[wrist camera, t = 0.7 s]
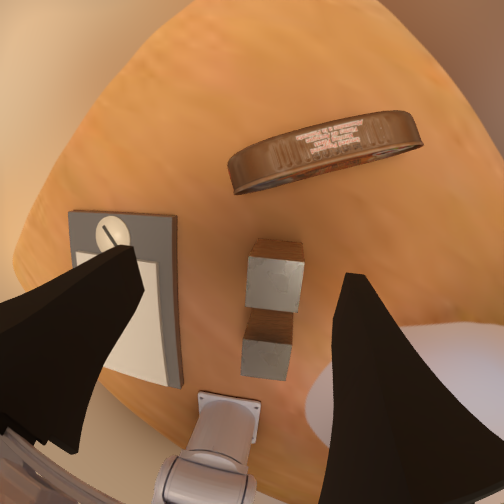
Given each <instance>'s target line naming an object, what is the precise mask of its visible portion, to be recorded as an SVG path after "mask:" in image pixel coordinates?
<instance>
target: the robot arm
mask: <svg viewBox="0 0 504 504" xmlns="http://www.w3.org/2000/svg"><path fill="white" fill-rule="evenodd" d="M144 291H145V289H144V285H143V281H142V278H141V274H140V270H139V267H138V263H137V259H136V255H135V251H134V246H128V245H121V244H120V245H118V246H115V247H113V248H111V249H108V250H106V251H104V252H102V253H100V254H98V255H97V256H95V257H93V258H91V259H89V260H87V261H86V262H84V263H82V264H80V265H78V266H77V267H75V268H73V269H71V270H69V271H68V272H66V273H64V274H62V275H60V276H58V277H56V278H55V279H53V280H51V281H49V282H47V283H45V284H43V285H41V286H39V287H37V288H35V289H33V290H31V291H29V292H27V293H24V294H22V295H20V296H18V297H15V298H12V299H10V300H7V301H4V302H2V303H0V504H78V502H80V503H81V504H124V503H122V502H120V501H118V500H116V499H114V498H112V497H110V496H108V495H106V494H104V493H102V492H101V491H99V490H97V489H95V488H93V487H92V486H90V485H88V484H87V483H85V482H83V481H81V480H80V479H78V478H77V477H75V476H74V475H72V474H71V473H69V472H67V471H66V470H65V469H63V468H62V467H60V466H59V465H57V464H56V463H55V462H53V461H52V460H50V459H49V458H48V457H46V456H45V455H44V454H42V453H41V452H40V451H39V450H37V449H36V448H35V447H34V444H35V442H36V440H37V441H38V442H40V443H41V444H42V445H46V443H47V441H48V440H49V441H50V442H52V443H53V444H55V445H57V446H58V447H60V448H61V449H62V450H64V451H66V452H67V453H69V454H71V455H72V454H76V453H78V450H79V443H80V437H81V431H82V426H83V422H84V418H85V414H86V410H87V407H88V404H89V401H90V398H91V395H92V392H93V389H94V386H95V384H96V382H97V379H98V377H99V374H100V372H101V370H102V367H103V365H104V363H105V362H106V360H107V358H108V356H109V354H110V353H111V351H112V349H113V348H114V346H115V344H116V343H117V341H118V339H119V338H120V336H121V335H122V333H123V331H124V330H125V328H126V326H127V325H128V323H129V322H130V320H131V318H132V317H133V315H134V313H135V311H136V309H137V307H138V305H139V303H140V301H141V298H142V296H143V294H144ZM331 348H332V369H333V396H334V397H333V398H334V411H333V425H332V433H331V441H330V448H329V455H328V461H327V467H326V472H325V477H324V482H323V486H322V491H321V495H320V499H319V502H318V504H475V502H476V501H479V500H481V499H483V498H486V497H488V496H490V495H492V494H494V493H496V492H498V491H500V490H502V489H504V441H503V440H502V439H501V438H499V437H498V436H497V435H496V434H494V433H493V432H492V431H490V430H489V429H488V428H487V427H486V426H485V425H483V424H482V423H481V422H480V421H479V420H478V419H477V418H476V417H475V416H474V415H473V414H471V413H470V412H469V411H468V410H467V409H466V408H465V407H464V406H463V405H462V404H461V403H460V402H459V401H458V400H457V398H456V397H454V395H453V394H452V393H451V392H450V391H449V390H448V389H447V388H446V387H445V386H444V385H443V384H442V382H441V381H440V380H439V379H438V378H437V377H436V375H435V374H434V373H433V372H432V371H431V369H430V368H429V367H428V366H427V364H426V363H425V362H424V361H423V359H422V358H421V357H420V356H419V354H418V353H417V352H416V350H415V349H414V348H413V346H412V345H411V344H410V342H409V341H408V339H407V338H406V337H405V335H404V334H403V332H402V331H401V330H400V328H399V327H398V325H397V324H396V322H395V321H394V319H393V318H392V316H391V315H390V313H389V312H388V310H387V309H386V307H385V305H384V304H383V302H382V301H381V299H380V298H379V296H378V295H377V293H376V291H375V290H374V288H373V287H372V285H371V284H370V282H369V281H368V279H367V278H366V276H365V275H363V274H354V273H346V274H345V278H344V281H343V285H342V289H341V293H340V296H339V300H338V303H337V307H336V310H335V314H334V317H333V327H332V345H331ZM202 397H203V398H202ZM198 404H199V418H198V421H197V423H196V426H195V428H194V431H193V433H192V435H191V438H190V440H189V443H188V445H187V447H186V450H182V451H181V453H180V455H179V456H176V455H172V456H170V457H168V458H166V459H165V461H164V462H163V464H162V466H161V468H160V470H159V473H158V475H157V479H156V482H155V488H154V495H153V499H152V502H151V504H253V502H254V498H255V493H256V487H257V481H256V479H255V478H254V476H253V475H250V474H248V475H247V472H248V466H247V461H248V456H249V451H250V446H251V443H252V444H253V443H255V442H256V436H257V429H258V422H259V415H260V408H261V403H260V402H259V401H254V400H247V399H240V398H234V397H228V396H223V395H217V394H212V393H207V392H202V391H200V392H199V393H198ZM35 471H36V472H38V473H39V474H40V475H41V476H42V477H41V476H39V475H37V474H36V472H35ZM246 476H247V477H246ZM43 477H44V478H43ZM502 504H504V503H502Z"/></svg>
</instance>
